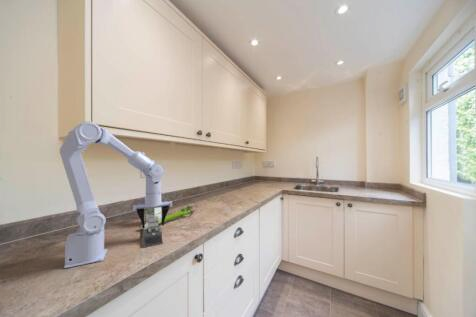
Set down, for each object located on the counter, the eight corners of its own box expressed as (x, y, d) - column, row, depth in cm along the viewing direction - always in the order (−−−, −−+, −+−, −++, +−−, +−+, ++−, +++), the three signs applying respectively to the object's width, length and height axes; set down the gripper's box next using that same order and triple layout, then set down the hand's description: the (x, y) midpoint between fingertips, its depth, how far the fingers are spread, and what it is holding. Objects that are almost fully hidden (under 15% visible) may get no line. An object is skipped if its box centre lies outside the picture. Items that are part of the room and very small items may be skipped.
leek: (137, 232, 85) (188, 212, 110) (145, 238, 81) (196, 216, 106) (138, 220, 84) (189, 202, 109) (146, 226, 80) (197, 206, 105)
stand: (142, 248, 67) (142, 236, 67) (142, 232, 82) (142, 222, 82) (162, 243, 70) (162, 233, 70) (159, 229, 85) (159, 220, 85)
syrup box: (161, 221, 96) (161, 193, 96) (154, 225, 90) (154, 196, 90) (152, 220, 97) (152, 193, 97) (144, 224, 91) (144, 195, 91)
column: (148, 238, 72) (148, 219, 72) (147, 235, 75) (148, 217, 76) (158, 236, 74) (158, 218, 74) (157, 233, 77) (158, 215, 77)
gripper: (170, 190, 82) (170, 220, 82) (133, 192, 75) (133, 225, 75) (173, 192, 76) (172, 225, 75) (132, 195, 69) (132, 231, 69)
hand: (153, 225), depth 75 cm, fingers open, 6 cm apart
